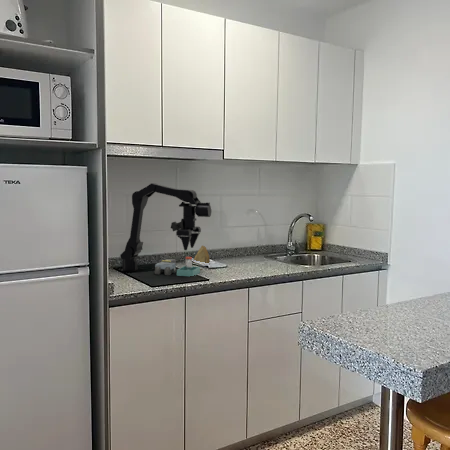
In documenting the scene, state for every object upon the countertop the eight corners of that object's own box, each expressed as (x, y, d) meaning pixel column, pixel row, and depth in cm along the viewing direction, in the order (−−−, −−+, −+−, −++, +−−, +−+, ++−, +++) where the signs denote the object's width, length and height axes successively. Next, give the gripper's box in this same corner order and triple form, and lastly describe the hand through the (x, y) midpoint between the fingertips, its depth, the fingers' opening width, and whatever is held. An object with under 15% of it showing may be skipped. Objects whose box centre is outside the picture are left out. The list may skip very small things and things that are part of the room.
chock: (161, 271, 225) (161, 260, 225) (167, 268, 233) (167, 258, 233) (169, 271, 224) (170, 261, 224) (175, 268, 232) (175, 258, 231)
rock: (215, 261, 243) (212, 255, 252) (206, 249, 240) (203, 244, 250) (198, 273, 243) (196, 267, 252) (189, 261, 240) (187, 255, 249)
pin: (184, 273, 216) (184, 257, 215) (186, 272, 219) (186, 256, 218) (190, 274, 215) (190, 257, 214) (192, 273, 218) (192, 256, 217)
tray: (176, 276, 213) (176, 269, 213) (184, 272, 223) (184, 266, 223) (193, 277, 211) (193, 270, 211) (199, 273, 221) (200, 267, 221)
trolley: (153, 275, 214) (153, 264, 214) (161, 271, 224) (161, 260, 223) (169, 276, 212) (169, 265, 212) (177, 272, 222) (177, 261, 221)
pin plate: (188, 270, 226) (188, 270, 226) (192, 268, 232) (192, 268, 232) (200, 271, 225) (200, 270, 225) (203, 269, 231) (203, 268, 231)
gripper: (180, 214, 225) (179, 245, 227) (165, 217, 208) (165, 250, 209) (201, 215, 223) (200, 246, 224) (188, 218, 205) (188, 252, 206)
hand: (188, 248), depth 216 cm, fingers open, 9 cm apart
